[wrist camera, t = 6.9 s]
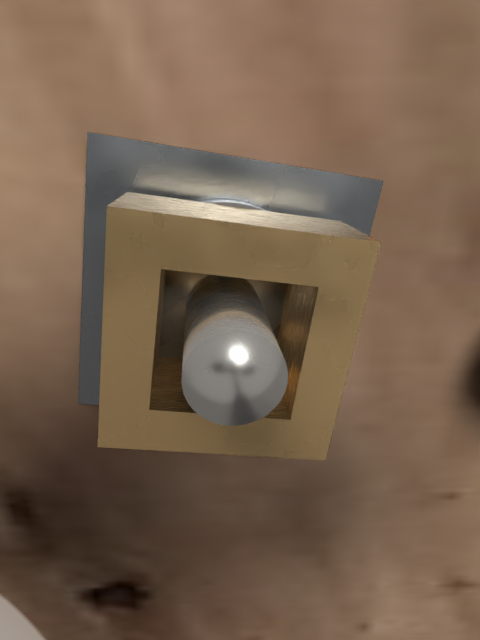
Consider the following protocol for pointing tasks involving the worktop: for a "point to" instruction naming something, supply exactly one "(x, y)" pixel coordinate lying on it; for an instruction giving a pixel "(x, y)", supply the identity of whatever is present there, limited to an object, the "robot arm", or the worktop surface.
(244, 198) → the post
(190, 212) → the collar
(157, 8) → the worktop surface
